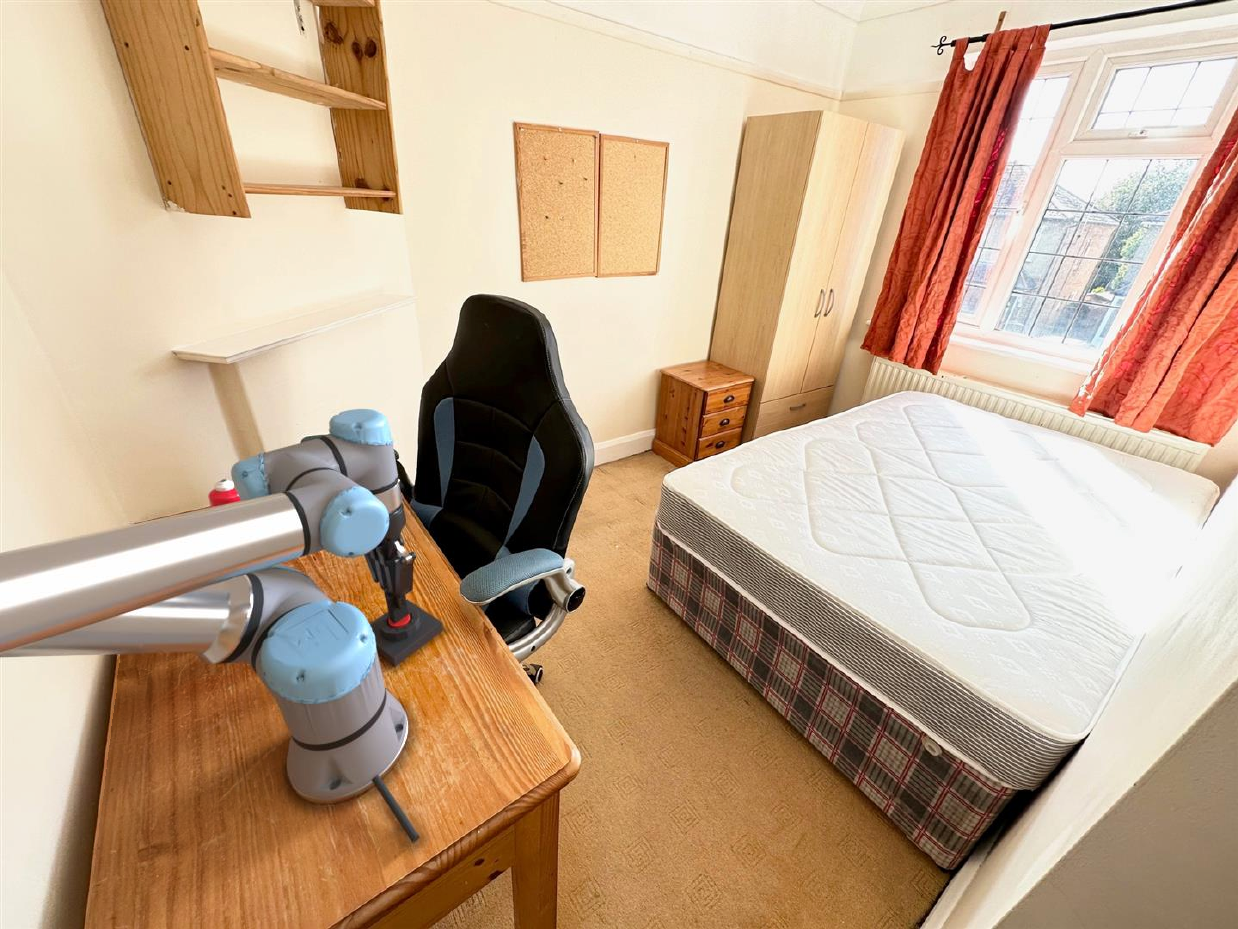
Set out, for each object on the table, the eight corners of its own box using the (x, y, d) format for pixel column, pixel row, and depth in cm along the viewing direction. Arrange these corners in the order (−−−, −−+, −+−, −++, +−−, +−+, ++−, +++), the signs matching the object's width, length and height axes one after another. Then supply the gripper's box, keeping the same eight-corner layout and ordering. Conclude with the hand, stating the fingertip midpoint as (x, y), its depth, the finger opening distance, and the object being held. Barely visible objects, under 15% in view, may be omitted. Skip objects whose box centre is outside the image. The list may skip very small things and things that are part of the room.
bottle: (219, 563, 100) (198, 480, 91) (248, 550, 105) (230, 470, 96) (234, 574, 98) (215, 490, 89) (263, 561, 103) (247, 480, 94)
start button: (415, 623, 87) (414, 616, 86) (398, 636, 84) (396, 629, 84) (403, 615, 89) (401, 608, 88) (385, 627, 86) (383, 620, 85)
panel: (443, 630, 89) (440, 614, 87) (395, 667, 82) (391, 650, 80) (408, 607, 94) (405, 592, 92) (360, 640, 86) (356, 624, 84)
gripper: (424, 510, 75) (441, 620, 86) (373, 484, 80) (395, 590, 92) (380, 533, 69) (404, 648, 80) (329, 502, 75) (357, 613, 86)
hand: (399, 617), depth 86 cm, fingers closed
